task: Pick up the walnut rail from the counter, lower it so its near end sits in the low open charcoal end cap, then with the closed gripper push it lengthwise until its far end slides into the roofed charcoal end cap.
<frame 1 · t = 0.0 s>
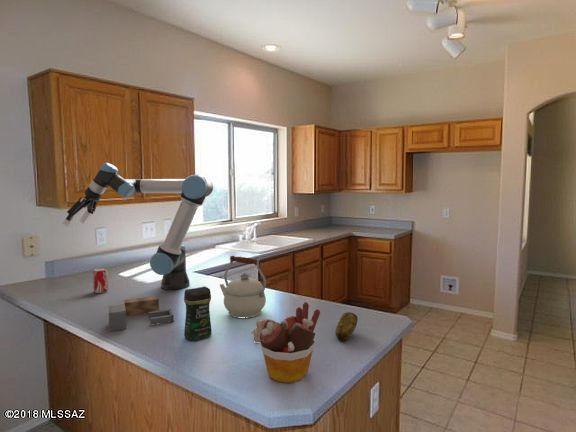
hand: (73, 223, 194), 36 cm above the worktop, tool tilted 35°, fingers open, 13 cm apart
architectural model: (261, 342, 137), on the worktop
soda can: (101, 292, 196), on the worktop
bucket of meat: (288, 374, 113), on the worktop
roofed end cap: (117, 326, 150), on the worktop
coffee jar: (198, 337, 140), on the worktop
walnut rail: (142, 312, 166), on the worktop
kettle: (242, 312, 166), on the worktop
open end cap: (161, 319, 157), on the worktop
potato: (345, 336, 140), on the worktop
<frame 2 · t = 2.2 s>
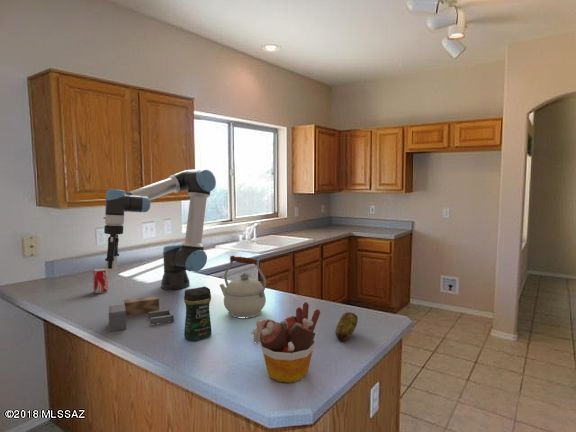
hand: (111, 273, 164), 18 cm above the worktop, tool pointing down, fingers open, 13 cm apart
nothing on the worktop moved.
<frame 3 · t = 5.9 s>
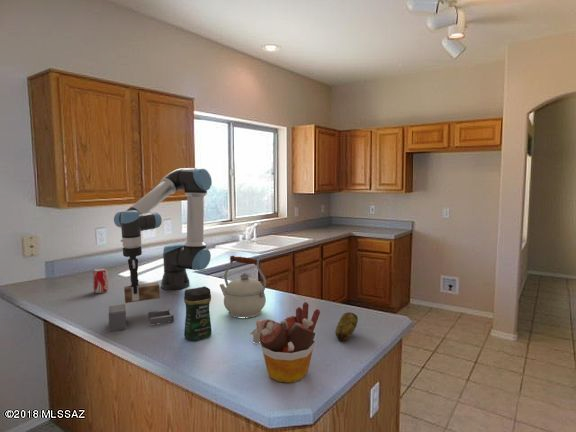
hand: (135, 298, 165), 6 cm above the worktop, tool pointing down, fingers closed on walnut rail, 5 cm apart
walnut rail: (142, 298, 166), point 6 cm above the worktop, touching gripper
everything else where it was.
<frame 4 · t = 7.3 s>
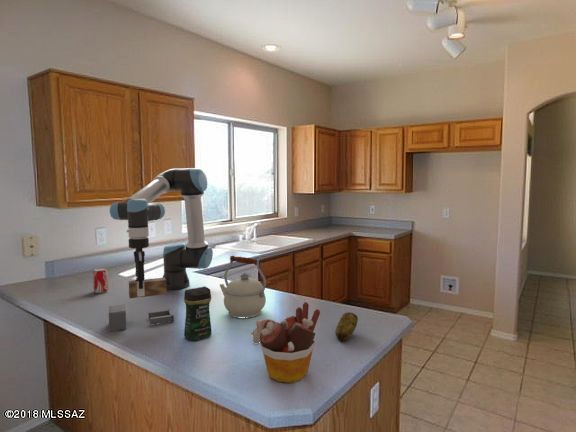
hand: (140, 294, 153), 12 cm above the worktop, tool pointing down, fingers closed on walnut rail, 5 cm apart
walnut rail: (147, 294, 154), point 11 cm above the worktop, touching gripper
everything else where it was.
when the fingers open (0 cm above the worktop, at t = 8.7 s): walnut rail stays where it is, on the worktop.
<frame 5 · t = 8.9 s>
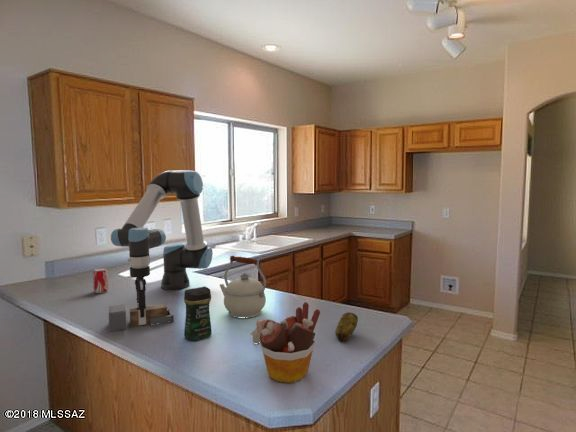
hand: (141, 321, 154), 0 cm above the worktop, tool pointing down, fingers open, 6 cm apart
walnut rail: (148, 322, 155), on the worktop
everything else where it was.
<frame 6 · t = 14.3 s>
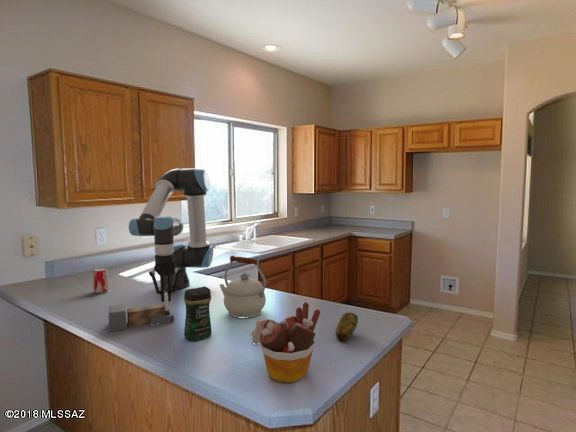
hand: (166, 309, 157), 4 cm above the worktop, tool pointing down, fingers closed
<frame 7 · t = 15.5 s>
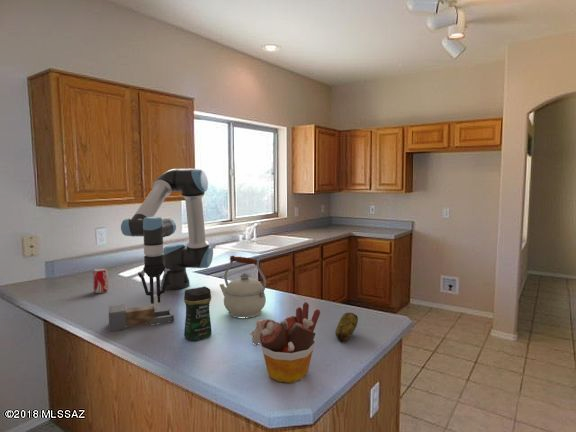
hand: (155, 310, 156), 4 cm above the worktop, tool pointing down, fingers closed
walnut rail: (136, 323, 153), on the worktop
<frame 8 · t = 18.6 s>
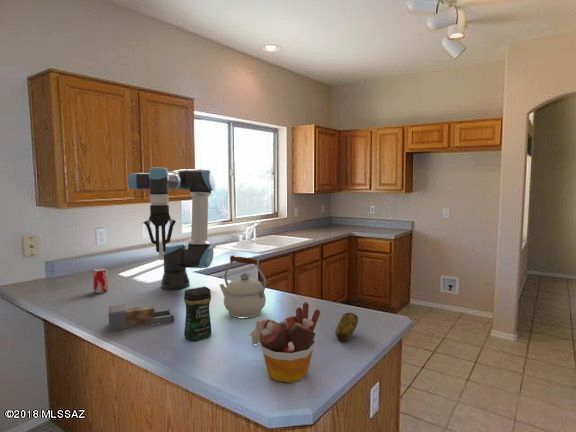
hand: (161, 259, 161), 24 cm above the worktop, tool pointing down, fingers closed
at the end: walnut rail 0.5 cm from the target spot, on the worktop; walnut rail tilted 0°; the gripper is holding nothing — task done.
